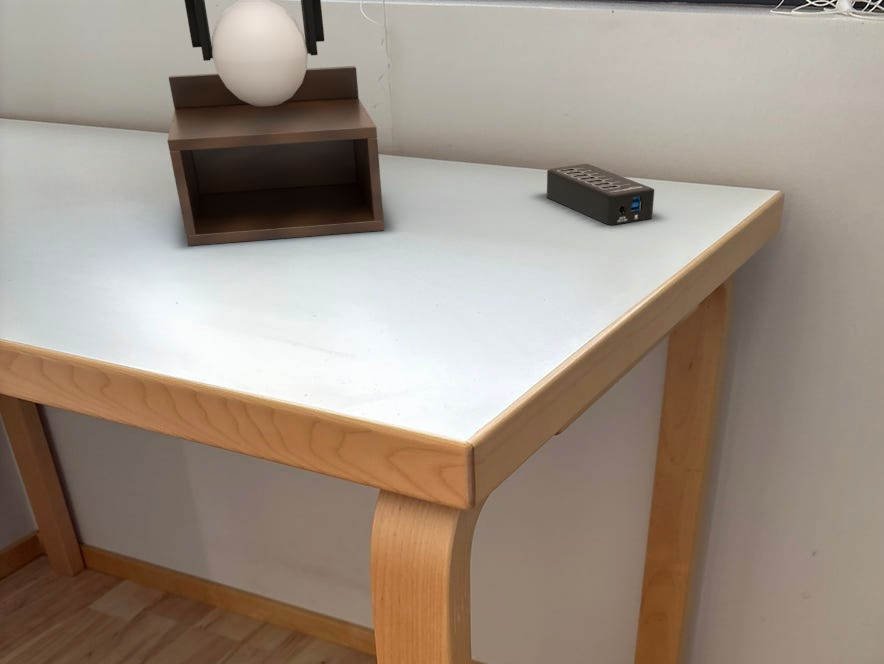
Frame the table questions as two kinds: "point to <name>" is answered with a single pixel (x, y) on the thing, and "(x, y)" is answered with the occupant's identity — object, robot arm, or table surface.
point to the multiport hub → (600, 194)
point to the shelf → (274, 160)
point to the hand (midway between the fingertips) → (260, 54)
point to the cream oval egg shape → (259, 52)
